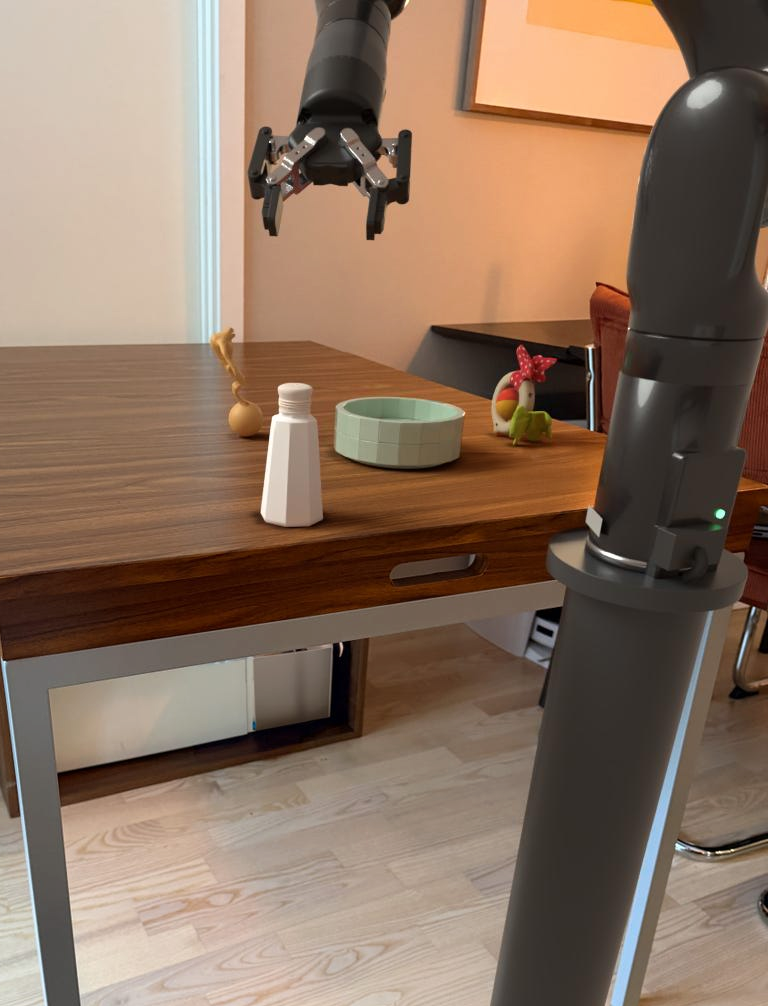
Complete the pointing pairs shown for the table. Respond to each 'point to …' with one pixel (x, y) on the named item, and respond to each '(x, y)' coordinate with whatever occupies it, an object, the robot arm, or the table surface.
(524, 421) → the bird rattle
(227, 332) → the figurine
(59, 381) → the table surface
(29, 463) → the table surface
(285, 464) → the pepper shaker
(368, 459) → the bowl
